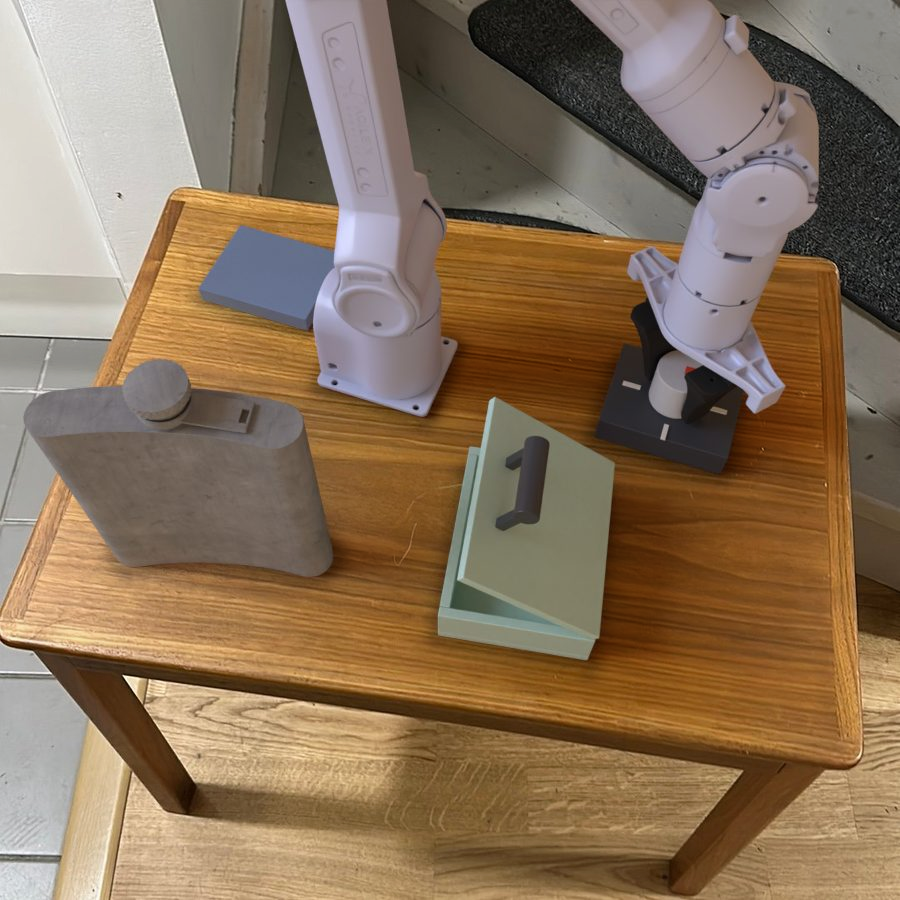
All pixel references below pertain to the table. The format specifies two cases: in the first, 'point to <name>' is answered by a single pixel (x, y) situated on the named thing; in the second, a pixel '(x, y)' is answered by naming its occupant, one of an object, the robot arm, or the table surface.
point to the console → (664, 420)
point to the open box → (495, 602)
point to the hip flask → (187, 471)
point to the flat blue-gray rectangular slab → (268, 277)
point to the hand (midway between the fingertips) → (675, 394)
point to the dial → (671, 383)
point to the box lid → (539, 521)
